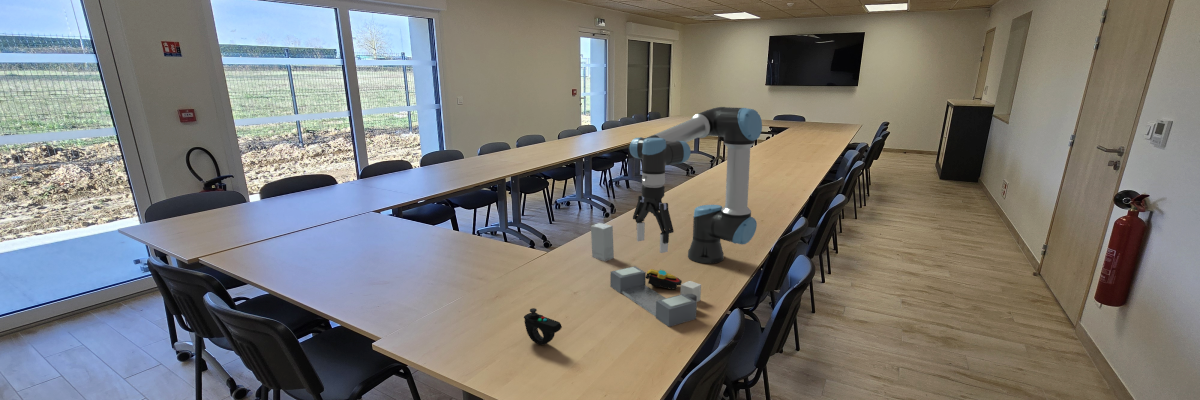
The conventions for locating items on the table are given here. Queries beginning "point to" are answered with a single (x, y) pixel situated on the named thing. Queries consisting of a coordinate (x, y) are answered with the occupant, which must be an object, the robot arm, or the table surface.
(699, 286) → the block
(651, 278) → the gadget
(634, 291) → the rail
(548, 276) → the table surface
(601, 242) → the skincare box
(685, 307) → the block
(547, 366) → the table surface
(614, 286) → the block
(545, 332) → the controller
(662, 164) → the robot arm
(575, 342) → the table surface
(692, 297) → the dark grey pebble
